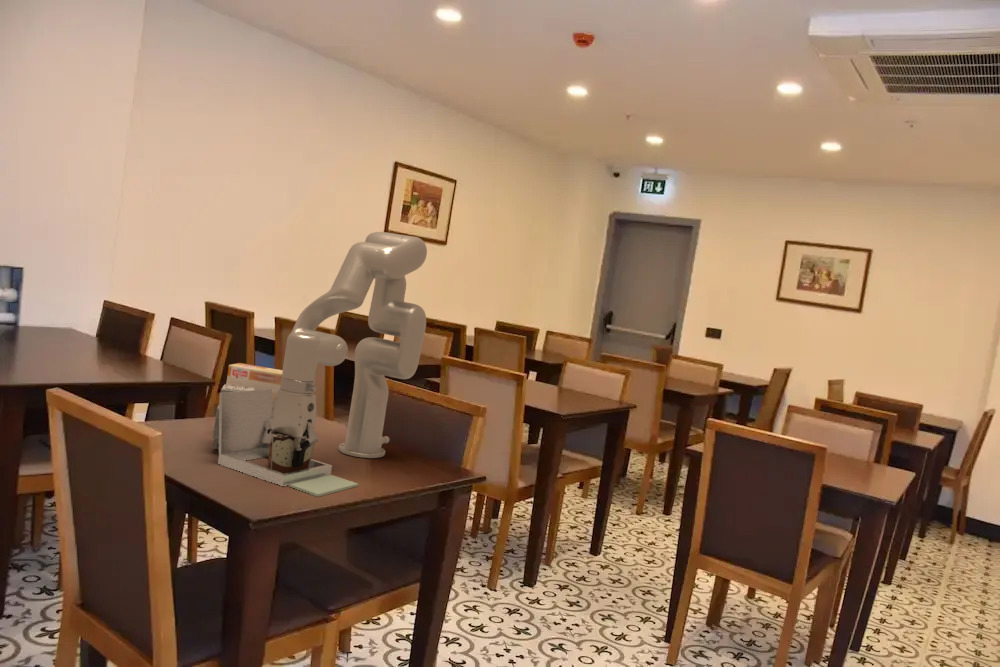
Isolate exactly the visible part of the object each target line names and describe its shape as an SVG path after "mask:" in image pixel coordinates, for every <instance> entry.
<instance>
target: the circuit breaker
mask: <svg viewBox="0 0 1000 667" xmlns="http://www.w3.org/2000/svg"><path fill="white" fill-rule="evenodd" d="M253 390H255V388H253V387H244V386H241V387H238V386H235V385H227V384H226V383H224V385H223V386H222V388H221V389H220V393H223V392H238V391H253ZM212 439H213V445H212V449H213V450H215V449H218V450H217V451H219V405H218V406H217V408H216V413H215V419H214V427H213V434H212Z"/></svg>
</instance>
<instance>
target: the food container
mask: <svg viewBox="0 0 1000 667" xmlns="http://www.w3.org/2000/svg"><path fill="white" fill-rule="evenodd" d="M308 438H309V436H307V439H308ZM267 442H268V443H269V457H268V459H267V460H268V462H267V463H268V464H267V468H269V469H272V470H275V471H278V472H281V473H284V474H286V473H290V472H295V471H300V470H305V469H309V466H310V462H311V459H313V458H312V457H313V453H314V449H315V444H316V443H318V442H319V439H318V440H316V441H315V442H314V443H313V444H312V445H311V446H309V447H308V449H306V450H305V456H304V462H303V466H299V467H292V459H293V453H294V450H297V449H296V443H295V437H292V436H288V435H285V434H281V433H277V432H276V431H275V429H272V430H271V431H270V433H269V435H268V437H267ZM301 444H302V439H301Z"/></svg>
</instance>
